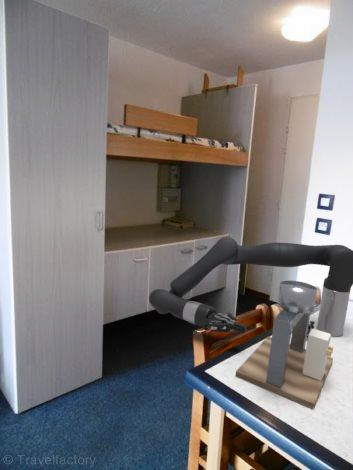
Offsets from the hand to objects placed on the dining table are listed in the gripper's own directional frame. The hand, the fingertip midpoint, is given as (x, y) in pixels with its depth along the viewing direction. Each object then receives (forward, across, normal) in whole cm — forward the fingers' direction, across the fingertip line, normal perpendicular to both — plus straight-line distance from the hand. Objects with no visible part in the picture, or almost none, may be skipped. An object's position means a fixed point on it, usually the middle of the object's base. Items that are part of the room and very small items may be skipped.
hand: (245, 329), depth 104 cm
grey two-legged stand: (+14, 0, +6) cm, 15 cm away
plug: (+21, 0, +6) cm, 22 cm away
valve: (+9, +26, +8) cm, 29 cm away
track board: (+14, 0, +8) cm, 16 cm away
